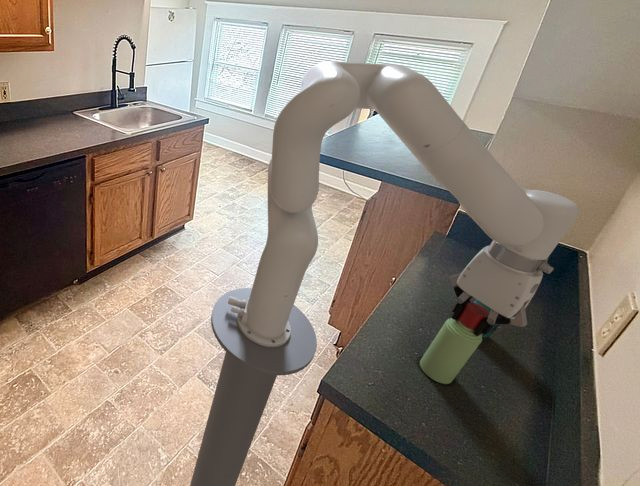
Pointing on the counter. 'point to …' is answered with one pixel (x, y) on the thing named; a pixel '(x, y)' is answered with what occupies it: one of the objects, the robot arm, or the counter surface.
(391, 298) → the counter surface
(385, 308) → the counter surface
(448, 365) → the sauce bottle
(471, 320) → the cap
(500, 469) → the counter surface
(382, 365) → the counter surface
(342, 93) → the robot arm
